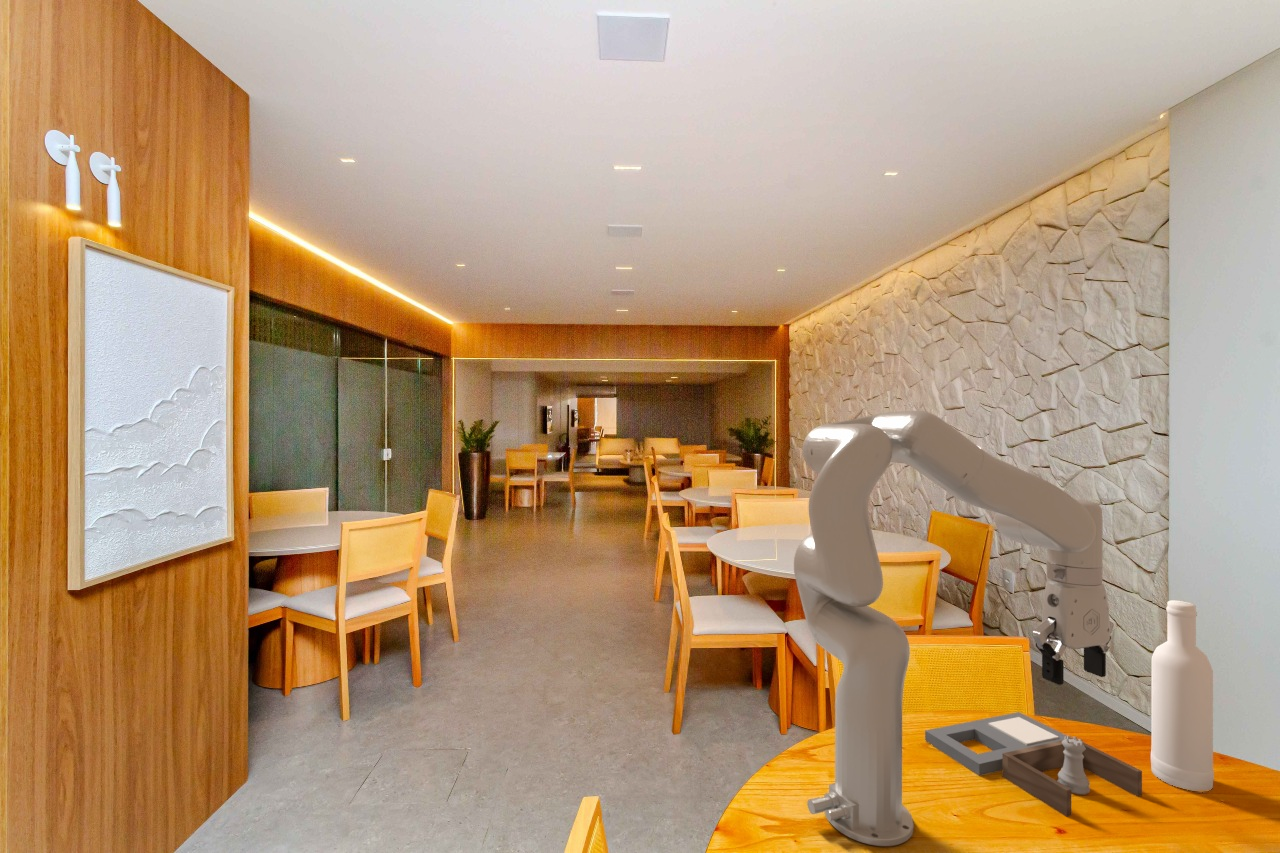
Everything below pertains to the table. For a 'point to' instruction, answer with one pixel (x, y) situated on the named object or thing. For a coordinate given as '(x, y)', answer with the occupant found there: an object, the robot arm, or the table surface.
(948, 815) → the table surface
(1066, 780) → the rook chess piece
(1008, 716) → the hole board
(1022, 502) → the robot arm
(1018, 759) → the walnut pen
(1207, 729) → the bottle
